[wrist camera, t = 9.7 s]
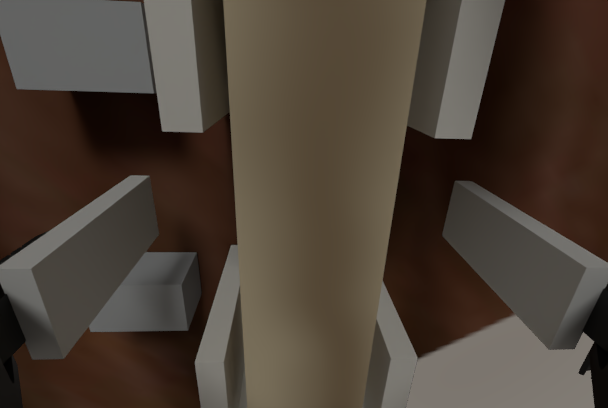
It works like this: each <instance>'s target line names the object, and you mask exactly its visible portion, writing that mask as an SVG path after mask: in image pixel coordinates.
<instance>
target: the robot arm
mask: <svg viewBox="0 0 608 408" xmlns="http://www.w3.org/2000/svg"><path fill="white" fill-rule="evenodd" d="M158 235H159V230H158V224H157V218H156V212H155V206H154V200H153V194H152V188H151V182H150V176H131V175H130V176H129V177H128V178H126V179H125V180H123V181H122V182H120V183H119V184H117V185H116V186H114V187H113V188H111V189H110V190H109V191H107V192H106V193H104V194H103V195H101V196H100V197H98V198H97V199H95V200H94V201H93V202H91V203H90V204H88V205H87V206H85V207H84V208H82V209H81V210H79V211H78V212H76V213H75V214H74V215H72V216H71V217H69V218H68V219H66V220H65V221H63V222H62V223H60V224H59V225H58V226H56V227H55V228H53V229H52V230H50V231H48V232H45V233H43V234H41V235H38V236H36V237H34V238H33V239H31V240H30V241H28V242H27V243H25V244H24V245H22V248H18V249H16V250H15V251H13V252H12V253H11V255H7V256H6V257H5V258H3V259H2V260H0V408H23V405H22V398H21V390H20V382H19V375H18V367H17V364H16V361H15V359H14V357H13V354H14V353H15V352H16V351H17V350H18V349H19V348H20V347H21V345H22V344H23V343H24V342H25V343H26V346H27V348H28V350H29V353H30V355H31V358H32V359H64V358H65V356H66V355H67V354H68V353H69V351H70V350H71V349H72V347H73V346H74V345H75V343H76V342H77V341H78V339H79V338H80V337H81V336H82V334H83V333H84V332H85V330H86V329H87V328H88V326H89V325H90V324H91V323H92V321H93V320H94V319H95V317H96V316H97V315H98V313H99V312H100V311H101V309H102V308H103V307H104V306H105V304H106V303H107V302H108V300H109V299H110V298H111V296H112V295H113V294H114V292H115V291H116V290H117V289H118V287H119V286H120V285H121V283H122V282H123V281H124V279H125V278H126V277H127V276H128V274H129V273H130V272H131V270H132V269H133V268H134V266H135V265H136V264H137V262H138V261H139V260H140V259H141V257H142V256H143V255H144V253H145V252H146V251H147V249H148V248H149V247H150V245H151V244H152V243H153V242H154V240H155V239H156V238H157V236H158ZM442 236H443V237H444V238H445V239H446V240H447V242H448V243H449V244H450V245H451V246H452V247H453V248H454V249H455V250H456V251H457V252H458V253H459V254H460V255H461V256H462V258H463V259H464V260H465V261H466V262H467V263H468V264H469V265H470V266H471V267H472V268H473V269H474V270H475V271H476V272H477V274H478V275H479V276H480V277H481V278H482V279H483V280H484V281H485V282H486V283H487V284H488V285H489V286H490V287H491V288H492V289H493V291H494V292H495V293H496V294H497V295H498V296H499V297H500V298H501V299H502V300H503V301H504V302H505V303H506V304H507V305H508V307H509V308H510V309H511V310H512V311H513V312H514V313H515V314H516V315H517V316H518V317H519V318H520V319H521V320H522V321H523V323H524V324H526V326H527V327H528V328H529V329H530V330H531V331H532V332H533V333H534V334H535V335H536V336H537V337H538V338H539V340H540V341H541V342H542V343H543V344H544V345H545V346H546V347H547V348H548V349H550V350H551V349H553V350H554V349H575V347H576V345H577V343H578V341H579V339H580V337H581V335H582V333H583V332H584V333H585V334H587V335H588V336H589V337H590V338H591V339H592V340H593V341H594V344H593V346H592V348H591V349H590V351H589V353H588V355H587V357H586V359H585V361H584V362H583V364H582V366H581V368H580V371H579V374H581V375H584V374H585V372H586V371H588V370H591V376H592V377H591V379H592V385H593V396H594V404H595V408H608V263H607V262H605V261H603V260H602V259H600V258H599V257H597V256H595V255H594V254H592V253H590V252H589V251H587V250H585V249H584V248H582V247H580V246H579V245H577V244H575V243H574V242H572V241H570V240H569V239H567V238H565V237H564V236H562V235H560V234H559V233H557V232H555V231H554V230H552V229H550V228H549V227H547V226H545V225H544V224H542V223H540V222H539V221H537V220H535V219H534V218H532V217H530V216H529V215H527V214H525V213H524V212H522V211H520V210H519V209H517V208H515V207H514V206H512V205H511V204H509V203H507V202H506V201H504V200H502V199H501V198H499V197H497V196H496V195H494V194H492V193H491V192H489V191H487V190H486V189H484V188H482V187H481V186H479V185H477V184H476V183H474V182H472V181H455V182H454V186H453V191H452V195H451V199H450V203H449V208H448V212H447V216H446V220H445V225H444V229H443V233H442Z"/></svg>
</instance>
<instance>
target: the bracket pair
mask: <svg viewBox="0 0 608 408" xmlns="http://www.w3.org/2000/svg"><path fill="white" fill-rule="evenodd" d="M504 2H505V0H427V1H426V7H425V13H424V20H423V26H422V32H421V39H420V45H419V51H418V58H417V64H416V71H415V77H414V83H413V90H412V96H411V102H410V109H409V115H408V121H407V126H409V127H411V128H414V129H416V130H418V131H420V132H422V133H424V134H426V135H429V136H431V137H433V138H443V139H471V138H472V134H473V130H474V126H475V122H476V117H477V113H478V109H479V105H480V101H481V97H482V93H483V89H484V85H485V80H486V76H487V72H488V68H489V64H490V60H491V56H492V52H493V48H494V44H495V39H496V35H497V31H498V27H499V23H500V19H501V15H502V11H503V7H504ZM144 6H145V13H146V20H147V27H148V34H149V42H150V49H151V56H152V63H153V70H154V77H155V84H156V91H157V98H158V106H159V113H160V120H161V127H162V131H163V132H204V131H206V130H207V129H208V128H209V127H211V126H212V125H213V124H215V123H216V122H217V121H219V120H220V119H221V118H222V117H224V116H225V115H226V114H228V113H229V112H230V106H229V89H228V72H227V55H226V38H225V21H224V4H223V0H144ZM417 360H418V357H417V355H416V353H415V351H414V349H413V346H412V344H411V342H410V340H409V338H408V335H407V333H406V331H405V329H404V327H403V324H402V322H401V320H400V318H399V316H398V314H397V311H396V309H395V307H394V305H393V303H392V300H391V298H390V296H389V294H388V292H387V290H386V287H385V285H384V283H383V281H382V287H381V293H380V299H379V306H378V312H377V318H376V325H375V331H374V337H373V344H372V350H371V356H370V363H369V369H368V376H367V382H366V388H365V395H364V401H363V407H362V408H406V405H407V401H408V396H409V393H410V388H411V384H412V380H413V376H414V372H415V368H416V364H417ZM195 369H196V376H197V383H198V390H199V397H200V404H201V408H247V395H246V378H245V361H244V344H243V327H242V310H241V293H240V276H239V259H238V245H231V247H230V250H229V253H228V257H227V260H226V263H225V266H224V270H223V273H222V276H221V279H220V282H219V286H218V289H217V292H216V295H215V299H214V302H213V305H212V308H211V311H210V315H209V318H208V321H207V324H206V328H205V331H204V334H203V337H202V340H201V344H200V347H199V350H198V353H197V357H196V360H195Z"/></svg>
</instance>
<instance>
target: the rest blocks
mask: <svg viewBox="0 0 608 408" xmlns="http://www.w3.org/2000/svg"><path fill="white" fill-rule="evenodd" d="M0 35H1V39H2V42H3V45H4V49H5V52H6V55H7V58H8V62H9V65H10V68H11V72H12V75H13V78H14V81H15V85H16V88H17V89H33V90H64V91H94V92H125V93H157V91H156V84H155V77H154V70H153V63H152V56H151V49H150V42H149V34H148V27H147V20H146V13H145V6H144V4H143V3H141V2H126V1H106V0H0ZM201 294H202V292H201V283H200V275H199V266H198V257H197V252H145V253H144V255H143V256H142V257H141V259H140V260H139V261H138V262H137V264H136V265H135V266H134V268H133V269H132V270H131V272H130V273H129V274H128V276H127V277H126V278H125V279H124V281H123V282H122V283H121V285H120V286H119V287H118V289H117V290H116V291H115V292H114V294H113V295H112V296H111V298H110V299H109V300H108V302H107V303H106V304H105V306H104V307H103V308H102V309H101V311H100V312H99V313H98V315H97V316H96V317H95V319H94V320H93V321H92V323H91V324H90V325H89V328H90V331H91V332H120V331H188V329H189V326H190V324H191V321H192V318H193V316H194V313H195V310H196V308H197V305H198V302H199V300H200V297H201Z"/></svg>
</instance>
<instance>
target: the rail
mask: <svg viewBox="0 0 608 408" xmlns="http://www.w3.org/2000/svg"><path fill="white" fill-rule="evenodd" d="M426 1H427V0H223V4H224V21H225V38H226V55H227V72H228V89H229V106H230V123H231V140H232V157H233V174H234V191H235V208H236V225H237V242H238V259H239V276H240V293H241V310H242V327H243V344H244V361H245V378H246V395H247V408H362V407H363V401H364V395H365V388H366V382H367V376H368V369H369V363H370V356H371V350H372V344H373V337H374V331H375V325H376V318H377V312H378V306H379V299H380V293H381V287H382V280H383V274H384V268H385V261H386V255H387V248H388V242H389V236H390V229H391V223H392V217H393V210H394V204H395V198H396V191H397V185H398V179H399V172H400V166H401V159H402V153H403V147H404V140H405V134H406V128H407V121H408V115H409V109H410V102H411V96H412V90H413V83H414V77H415V71H416V64H417V58H418V51H419V45H420V39H421V32H422V26H423V20H424V13H425V7H426Z"/></svg>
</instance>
